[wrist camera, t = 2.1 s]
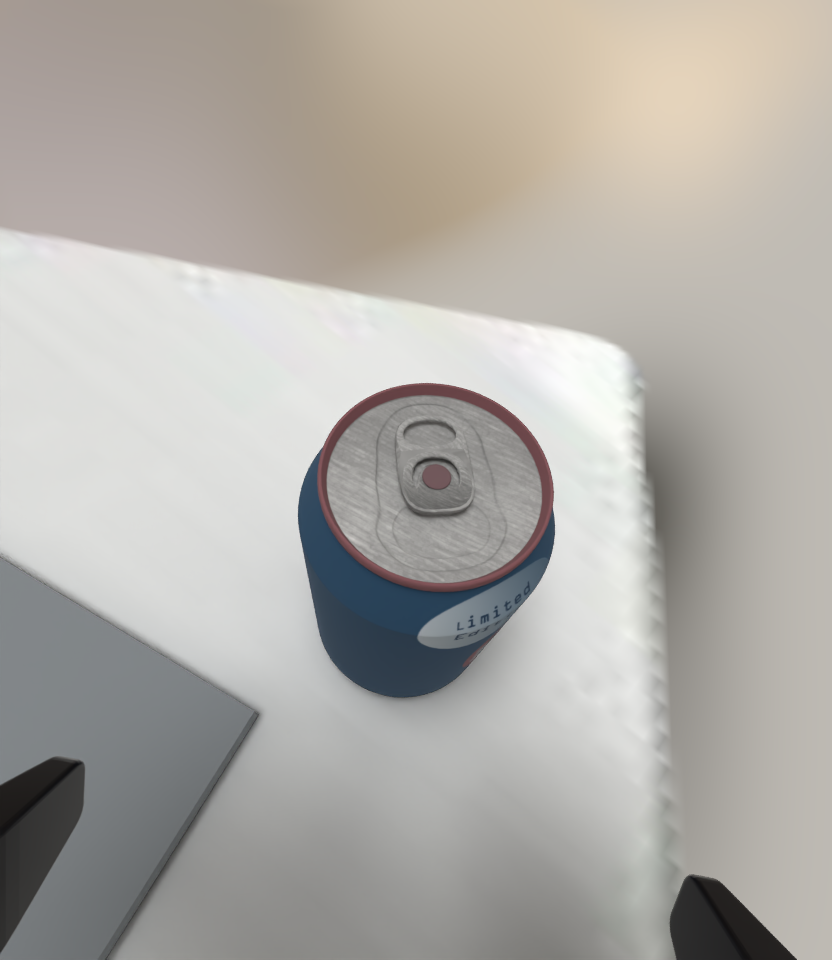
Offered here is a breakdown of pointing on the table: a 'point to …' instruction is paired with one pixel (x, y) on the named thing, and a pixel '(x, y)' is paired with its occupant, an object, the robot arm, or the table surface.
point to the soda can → (422, 533)
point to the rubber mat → (103, 759)
